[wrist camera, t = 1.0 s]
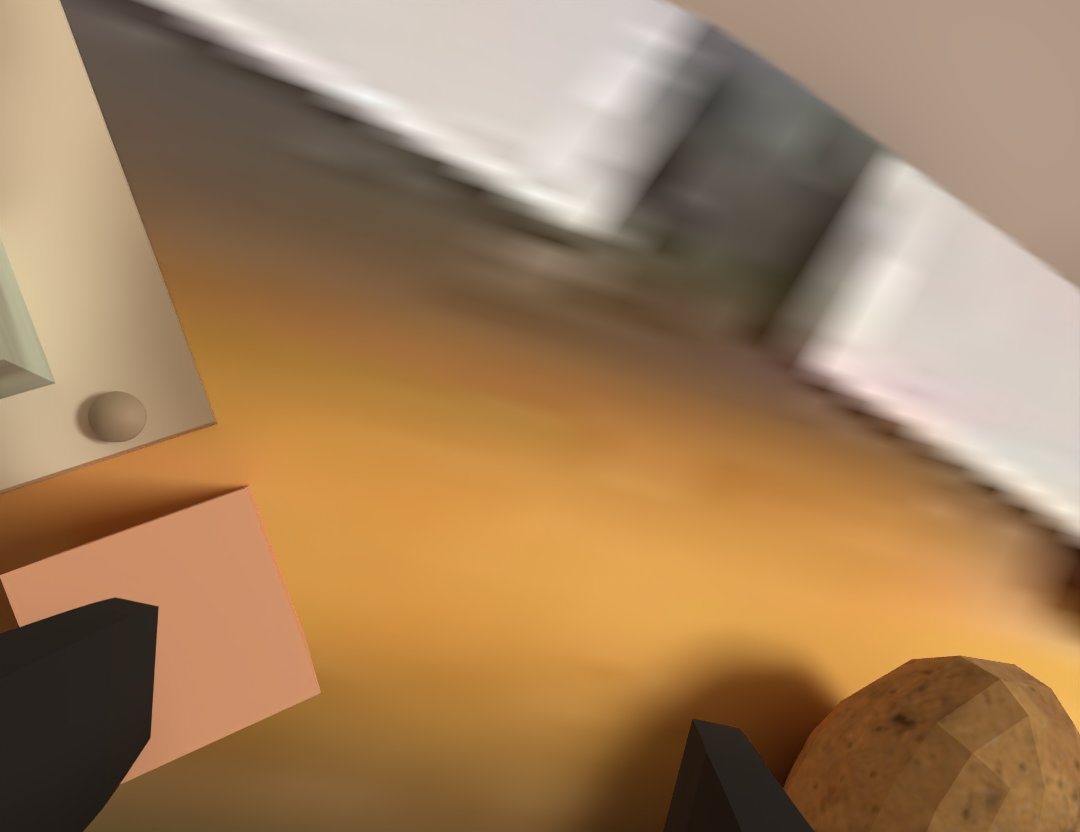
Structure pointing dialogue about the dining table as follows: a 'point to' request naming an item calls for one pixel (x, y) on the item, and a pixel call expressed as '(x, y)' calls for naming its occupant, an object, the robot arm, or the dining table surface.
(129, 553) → the terracotta block
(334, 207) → the dining table surface
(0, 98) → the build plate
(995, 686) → the potato
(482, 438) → the dining table surface
